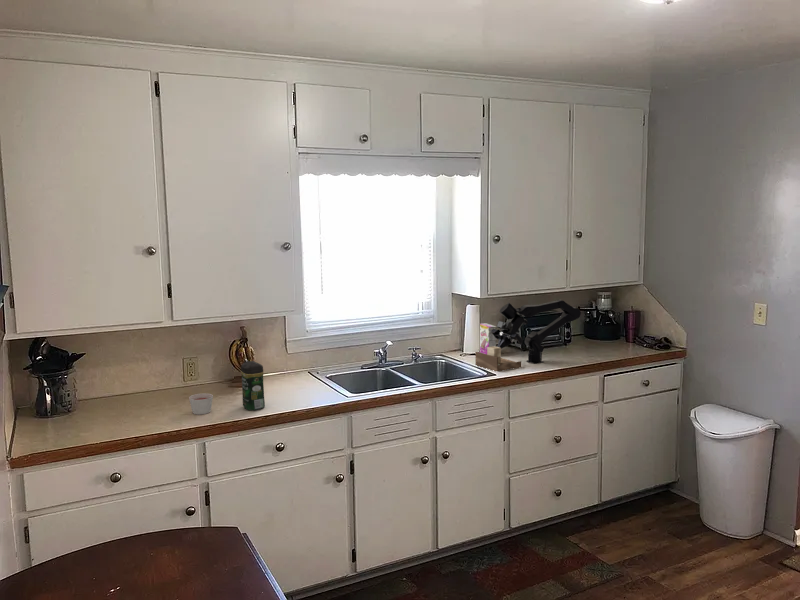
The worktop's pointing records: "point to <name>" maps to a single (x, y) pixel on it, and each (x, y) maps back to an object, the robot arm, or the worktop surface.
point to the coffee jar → (252, 385)
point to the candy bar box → (486, 337)
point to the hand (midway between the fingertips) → (497, 349)
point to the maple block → (494, 352)
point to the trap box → (495, 362)
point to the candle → (201, 403)
